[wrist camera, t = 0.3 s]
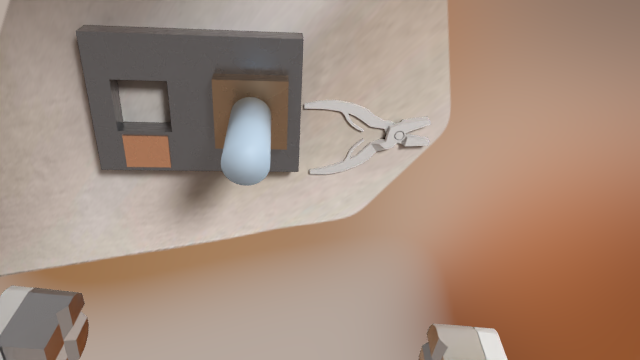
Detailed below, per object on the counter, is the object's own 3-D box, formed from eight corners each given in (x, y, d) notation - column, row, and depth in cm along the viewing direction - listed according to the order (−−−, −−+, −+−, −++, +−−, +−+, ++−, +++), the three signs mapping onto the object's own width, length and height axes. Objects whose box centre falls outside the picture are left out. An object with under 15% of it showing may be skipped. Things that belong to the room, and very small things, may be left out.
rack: (83, 25, 53) (68, 36, 49) (302, 33, 55) (304, 44, 51) (107, 159, 61) (96, 178, 57) (297, 162, 63) (298, 180, 59)
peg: (229, 96, 53) (219, 141, 44) (271, 97, 53) (270, 142, 44) (231, 134, 55) (221, 185, 46) (271, 134, 56) (270, 185, 46)
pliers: (304, 105, 58) (432, 94, 58) (303, 100, 59) (429, 89, 60) (310, 179, 63) (428, 168, 63) (309, 172, 64) (425, 162, 65)
